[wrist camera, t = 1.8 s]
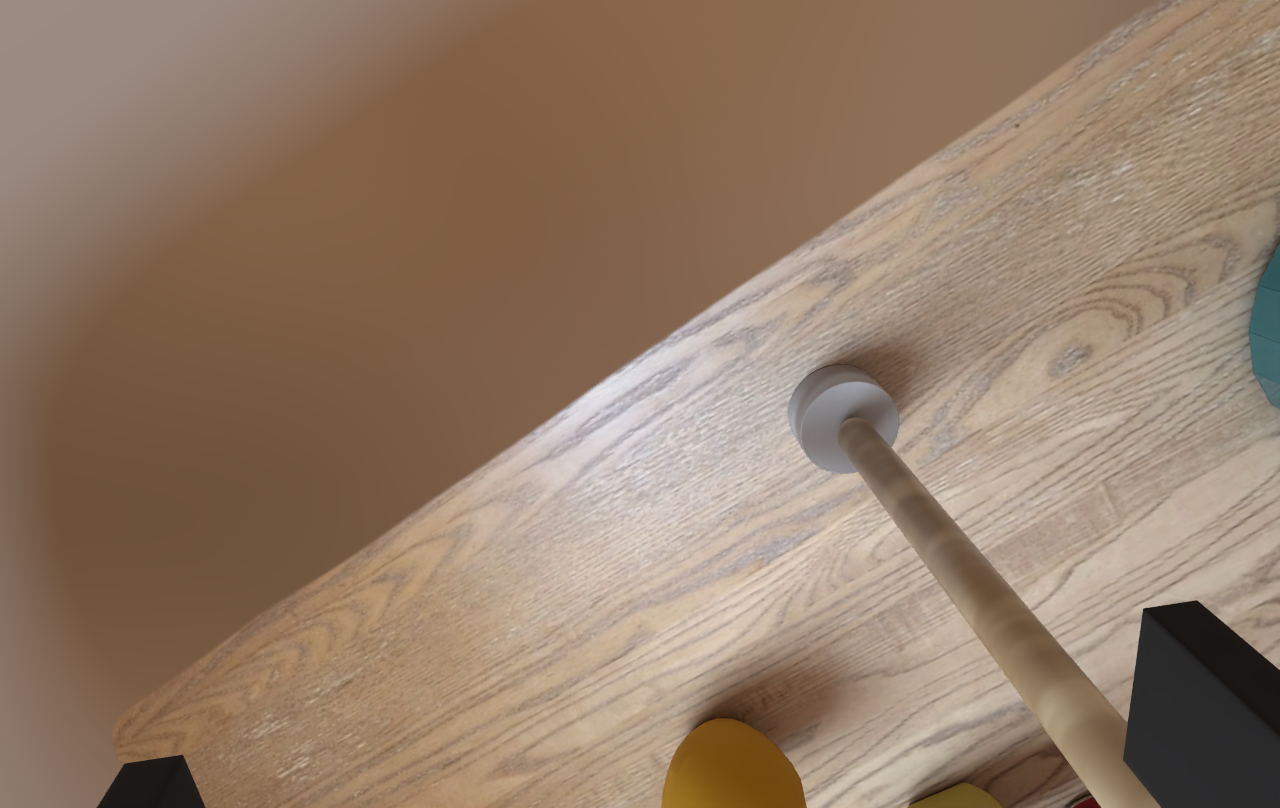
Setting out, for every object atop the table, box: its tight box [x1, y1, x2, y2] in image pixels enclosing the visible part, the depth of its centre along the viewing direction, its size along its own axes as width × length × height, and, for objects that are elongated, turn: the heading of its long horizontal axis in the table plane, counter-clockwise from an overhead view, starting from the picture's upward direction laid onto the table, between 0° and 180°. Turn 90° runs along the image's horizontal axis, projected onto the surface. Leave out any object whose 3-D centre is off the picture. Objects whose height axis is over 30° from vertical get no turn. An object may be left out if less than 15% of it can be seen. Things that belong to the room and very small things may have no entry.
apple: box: [662, 718, 807, 808], centre depth 57 cm, size 10×10×12 cm
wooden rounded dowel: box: [788, 365, 1161, 808], centre depth 34 cm, size 6×6×40 cm
